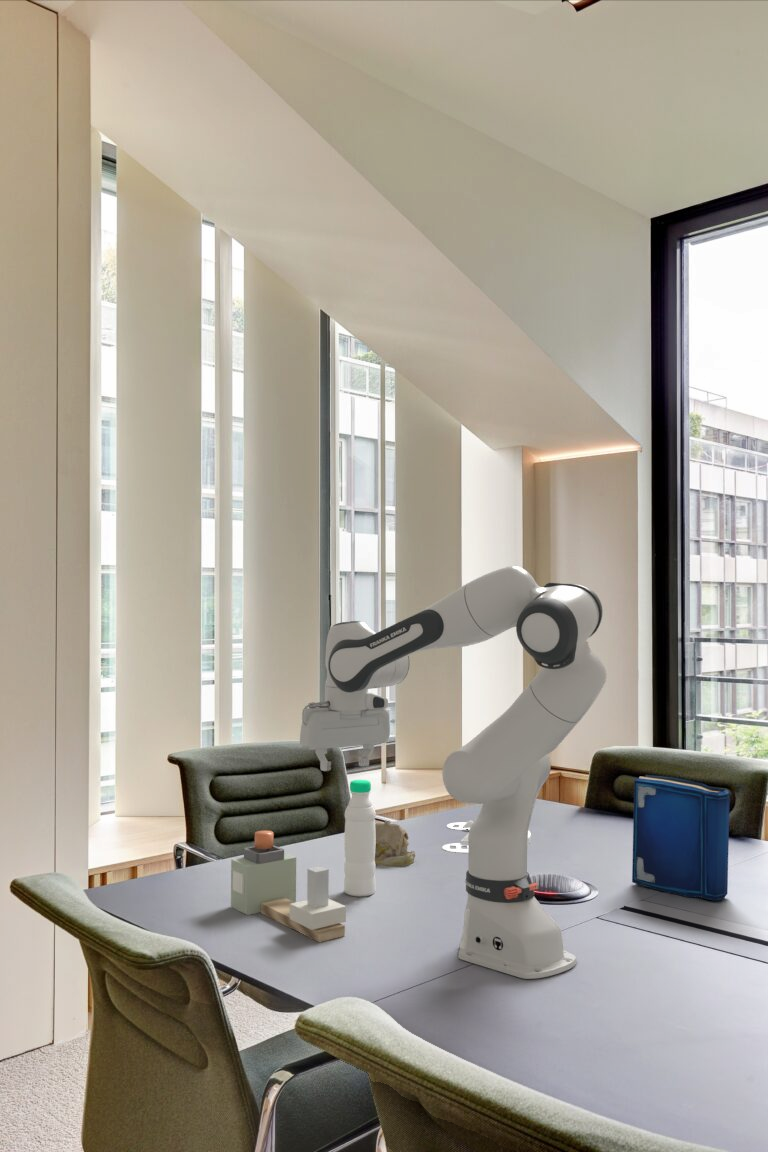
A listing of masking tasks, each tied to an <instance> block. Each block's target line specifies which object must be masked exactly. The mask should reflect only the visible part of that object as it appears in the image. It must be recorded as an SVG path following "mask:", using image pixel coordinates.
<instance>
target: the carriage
mask: <svg viewBox="0 0 768 1152" xmlns="http://www.w3.org/2000/svg"><path fill="white" fill-rule="evenodd" d="M329 875H330V874H329V869H328V868H325V867H323V866H321V865H320V866H319V865H318V866H315V867H309V868H307V885H306V887H307V889H306V891H307V892H306V893H307V894H306V895H307V896H306V899H305V900H300V901H296V902H295V903H291V904H290V919H291V920H293V921H295V922H297V923H299V924H301V925H303V926H305V927H307V928H309V929H311V930H314V929H318V928H322V927H326V926H330V925H334V924H338V923H340V924H342V923H346V922H347V906H346V905H344V904H343V903H340V902H338V901H335V900H333V899H331V898H329V881H330V880H329Z"/></svg>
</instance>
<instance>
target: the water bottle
mask: <svg viewBox="0 0 768 1152" xmlns="http://www.w3.org/2000/svg"><path fill="white" fill-rule="evenodd" d="M349 783H350V784H349V790H350V794H351V798H350V800H349V802H348V805H347V806H346V808H345V811H344V818H345V822H344V859H345V861H344V865H343V866H344V870H343V871H344V882H343V884H344V885H343V887H344V888H343V889H344V890H343V891H344V893H346V894H347V895H348V896H352V897H358V898H359V897H367V896H372V895H373V894H374V893H375V892H376V877H375V875H376V865H375V847H376V830H375V824H376V815H377V813H376V810H375V808H374V806H373V802H372V800H371V798H370V796H369V794H370V793H371V789H372V785H371V782H370V781H369V780H366V779H356V780H355V779H354V780H351V781H350V782H349Z"/></svg>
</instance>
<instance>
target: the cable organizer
mask: <svg viewBox="0 0 768 1152" xmlns="http://www.w3.org/2000/svg"><path fill="white" fill-rule="evenodd" d="M473 822H474V821H473V820H468V821H467V822H461V821H460V822H458V821H457V822H451V823H448V824H447V825H446V828H448V829H449V828H450V830H453V829H455V831H469V830H470V827H471V825H472V824H473ZM453 826H455V827H453ZM456 826H458V827H456ZM463 827H464V828H463ZM466 829H468V830H466ZM468 835H469V833H467V834H466V835H465V836H464V837H463V838H462V839H461V840H460V842H468ZM531 837H532V834H531V831H530V830H528V843H529V842H530V843H531V841H530V840H532V839H531ZM460 842H456V843H455V842H454V843H446V844H444V845H443V846H442V847H441V848H442V850H444V851H445V850H446V852H449V853H455V852H456V853H457V854H458V853H459V854H468V843H460ZM530 843H529V844H530ZM451 847H455V848H451ZM462 847H466V848H462Z"/></svg>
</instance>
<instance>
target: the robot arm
mask: <svg viewBox="0 0 768 1152" xmlns="http://www.w3.org/2000/svg"><path fill="white" fill-rule="evenodd" d="M602 619H603V606H602V602H601V600H600V598H599V597H598V595H597V593H595V591H593V590H592V589H591V588H589V587H586V586H585V585H584V586H583V585H580V584H575V583H574V584H573V583H560V582H559V583H557V582H547V583H546V584H545V585H543V587H542V586H540V585H539V584H537V582H536V580H535V579H534V577H533V575H531V574H530V572H529V571H528V570H526V569H524V568H522V567H520V566H517V565H516V566H515V565H512V566H511V565H510V566H506V567H502V568H499V569H496V570H493V571H491V572H488V573H486V574H484V575H481V576H479V577H477V578H475V579H473V580H471V581H469V582H468V583H467V582H466V584H463V585H462V586H460V587H459V588H457V589H456V590H454V591H451V593H448V594H447V595H445V596H443V598H441V599H439V600H437V601H436V602H434V603H432V604H431V605H428V606H427V607H426V608H424V609H422V610H420V611H419V612H417V613H415V614H413V615H411V616H409V617H407V618H404V619H403V620H400V621H398V622H397V623H395V624H392V625H390V626H388V627H386V628H385V629H382V630H380V631H378V632H375V631H374V630H373V629H372V628H371V627H369V625H368V624H367V623H365V622H363V621H360V620H351V621H343V622H342V621H341V622H338V623H335V624H334V625H332V626H331V627H330V628H329V631H328V633H327V637H326V642H325V644H326V645H325V658H324V659H325V661H324V663H325V665H324V666H325V668H326V679H325V683H324V701H319V702H318V701H317V702H313V701H312V702H309V703H308V704H307V705H305V706H304V708H302V713H301V720H302V721H301V725H300V726H301V727H300V734H299V735H300V736H299V744H300V746H301V748H303V749H305V750H310V751H312V750H313V751H314V750H315V755H316V757H317V759H318V760H319V765H320V766H319V767H320V771H323V772H329V771H331V769H332V767H331V766H332V761H328V758H327V757H326V755H327V754H328V749H336V748H346V747H354V746H355V747H356V746H362V749H364V750H363V752H362V755H361V756H359V757H358V767H363V768H365V767H369V766H370V758H371V756H372V754H373V753H374V750H375V744H376V745H377V744H386V743H387V742H388V740H389V739H390V735H391V731H390V728H391V727H390V726H391V723H390V721H391V720H390V714H389V712H388V711H387V708H388V707H389V699H388V698H386V697H384V696H381V695H378V694H375V693H373V692H369V690H371V689H380V688H386V687H387V688H388V687H393V686H396V685H398V684H401V683H402V682H403V681H404V680H405V679H406V678H407V675H408V673H409V669H410V655H414V654H415V653H419V652H422V651H428V650H434V649H435V650H436V649H448V648H450V649H451V648H463V647H464V648H465V647H469V646H473V645H477V644H480V643H483V642H486V641H488V640H490V639H493V638H495V637H497V636H499V635H500V634H503V633H504V632H506V631H509V630H510V629H513V628H516V629H515V630H516V631H515V632H516V635H517V639H518V641H519V643H520V645H521V647H522V648H523V649H524V650H525V651H526V652H527V653H528V654H529V655H530V656H531V657H533V659H534V661H535V662H536V664H537V665H538V666H540V667H541V669H540V670H539V671H538V673H536V675H535V676H534V678H533V679H532V680H531V681H530V682H529V684H528V685H527V686H526V688H524V690H523V691H522V692H521V693H520V694H519V696H518V697H517V698H516V699H515V701H513V703H512V704H511V705H510V707H508V709H507V710H505V711H504V712H503V713H502V714H501V715H500V716H499V717H497V718H496V719H495V720H494V721H492V722H491V723H490V724H489V725H488V726H487V727H485V728H484V729H483V730H481V732H480V733H478V734H477V735H475V737H473V738H472V739H471V740H470V741H469V742H468V743H465V744H464V745H463V746H461V747H459V748H458V749H456V750H454V751H453V752H451V753H450V754H449V755H448V756H447V757H445V758H446V759H445V760H444V763H443V765H442V772H441V773H442V775H441V776H442V782H443V785H444V788H445V789H446V792H447V793H448V795H450V797H451V798H453V799H454V800H455V801H457V802H459V803H465V804H472V805H481V808H480V811H479V813H478V815H477V817H476V819H474V820H473V821H472V822H473V824H472V825H471V827H470V830H468V834H469V835H468V841H467V842H468V843H467V844H468V853H467V854H468V855H467V856H468V869H467V871H466V873H465V881H464V882H465V891H466V893H467V900H466V905H465V910H464V919H463V926H462V935H461V939H460V942H459V950H458V959H460V960H462V961H465V962H468V963H472V964H474V965H478V966H481V967H485V968H488V969H491V970H493V971H498V972H501V973H504V974H507V975H511V976H514V977H517V978H520V979H523V980H526V979H527V980H531V979H532V980H533V979H541V978H547V977H551V976H554V975H557V974H561V973H563V972H567V971H568V970H570V969H573V968H574V967H575V966H576V965H577V964H578V963H577V962H578V961H577V956H576V955H574V954H573V953H570V952H569V951H567V950H565V949H564V941H563V940H564V939H563V934H562V930H561V927H560V926H559V925H558V923H557V922H556V921H555V920H554V919H553V918H552V917H551V915H550V914H549V913H548V911H547V910H546V909H545V908H544V907H543V906H542V905H541V903H540V902H539V900H537V898H536V897H535V890H538V889H539V887H537V886H538V885H539V882H534V883H533V882H532V879H531V877H530V874H529V873H528V845H529V844H528V830H529V829H530V824H531V819H532V815H533V812H534V808H535V804H536V802H537V798H538V796H539V793H540V790H541V789H542V788H543V785H544V784H545V783H546V781H547V780H548V778H549V776H550V773H551V768H552V767H551V765H552V764H551V760H550V756H549V754H551V753H552V752H554V751H555V750H556V749H557V748H558V746H559V745H561V743H562V742H563V740H565V738H566V737H567V736H568V735H569V734H570V733H571V732H572V730H573V729H574V728H575V727H576V726H577V724H578V723H580V721H581V720H582V719H583V718H584V716H585V715H586V714H587V712H588V711H589V710H590V709H591V707H592V706H593V705H594V703H595V701H596V700H597V698H598V697H599V694H600V693H601V692H602V689H603V688H604V686H605V684H606V681H607V670H606V669H607V668H606V667H605V664H604V663H603V662H602V660H601V658H599V656H598V655H597V654H596V653H594V652H593V651H592V650H591V648H590V646H589V642H588V640H589V638H590V637H592V636H593V635H594V634H595V633H596V632H597V631H598V629H599V627H600V624H601V623H602ZM529 831H530V830H529Z"/></svg>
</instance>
